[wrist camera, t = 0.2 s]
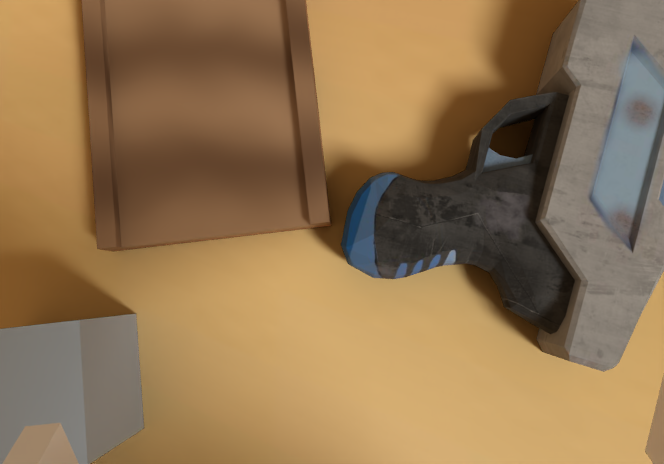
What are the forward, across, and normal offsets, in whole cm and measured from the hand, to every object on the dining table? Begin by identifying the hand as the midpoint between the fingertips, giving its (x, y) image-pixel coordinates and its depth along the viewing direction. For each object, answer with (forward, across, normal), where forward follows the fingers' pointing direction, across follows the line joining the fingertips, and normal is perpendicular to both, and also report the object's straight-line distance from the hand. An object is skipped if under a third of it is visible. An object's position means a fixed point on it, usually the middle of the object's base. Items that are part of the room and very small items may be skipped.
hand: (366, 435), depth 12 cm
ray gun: (+19, -10, +1) cm, 21 cm away
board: (+22, +6, -5) cm, 24 cm away
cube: (+14, +14, +9) cm, 22 cm away
